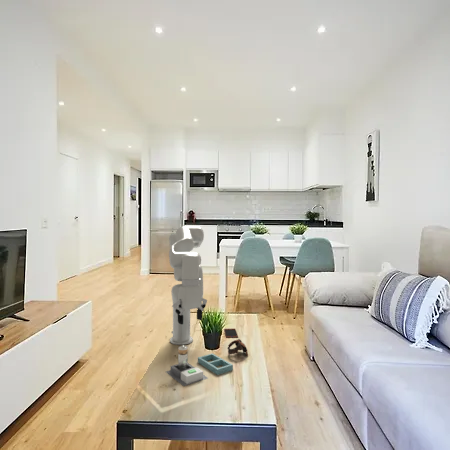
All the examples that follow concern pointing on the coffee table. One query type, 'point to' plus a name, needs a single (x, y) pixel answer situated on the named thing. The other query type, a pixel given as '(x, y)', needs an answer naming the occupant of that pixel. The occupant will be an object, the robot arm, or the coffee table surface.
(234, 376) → the coffee table surface
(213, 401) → the coffee table surface
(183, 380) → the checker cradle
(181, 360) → the test cell
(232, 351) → the brown arched frame
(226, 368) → the teal rectangular open box
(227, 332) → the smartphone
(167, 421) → the coffee table surface
